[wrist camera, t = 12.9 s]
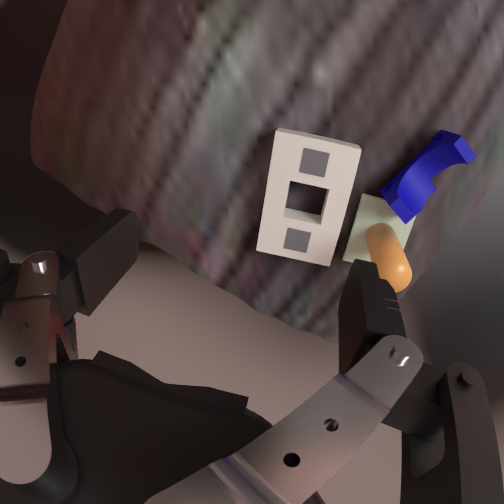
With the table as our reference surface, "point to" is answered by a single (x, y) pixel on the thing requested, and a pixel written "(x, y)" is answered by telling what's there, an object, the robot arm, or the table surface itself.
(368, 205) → the mat
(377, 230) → the plug
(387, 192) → the cable clip
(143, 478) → the robot arm
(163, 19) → the table surface
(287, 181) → the white slab with hole
